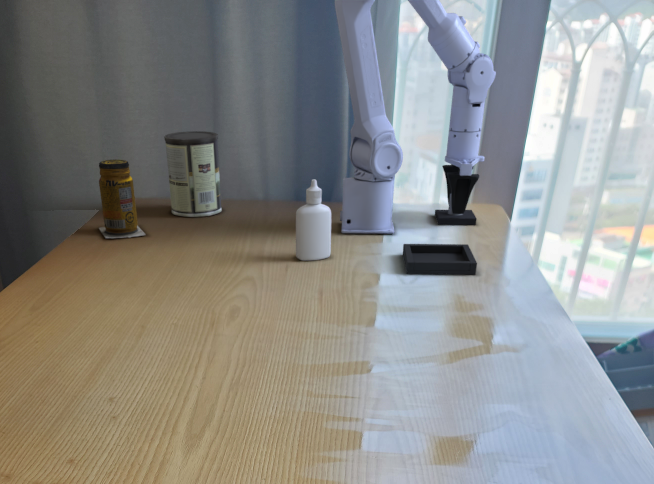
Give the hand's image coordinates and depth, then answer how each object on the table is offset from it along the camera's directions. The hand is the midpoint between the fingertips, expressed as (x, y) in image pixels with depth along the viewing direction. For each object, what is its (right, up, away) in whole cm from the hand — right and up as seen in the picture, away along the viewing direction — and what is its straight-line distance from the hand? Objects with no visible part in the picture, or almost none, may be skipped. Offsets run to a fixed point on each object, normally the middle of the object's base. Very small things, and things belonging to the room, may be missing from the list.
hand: (456, 209), depth 142 cm
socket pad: (-8, -18, -22) cm, 30 cm away
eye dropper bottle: (-28, -15, -18) cm, 37 cm away
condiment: (-63, -6, -3) cm, 63 cm away
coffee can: (-50, +3, +10) cm, 51 cm away
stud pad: (0, -2, +1) cm, 2 cm away
